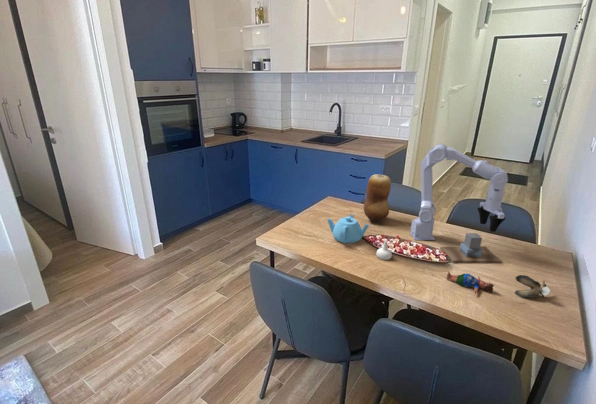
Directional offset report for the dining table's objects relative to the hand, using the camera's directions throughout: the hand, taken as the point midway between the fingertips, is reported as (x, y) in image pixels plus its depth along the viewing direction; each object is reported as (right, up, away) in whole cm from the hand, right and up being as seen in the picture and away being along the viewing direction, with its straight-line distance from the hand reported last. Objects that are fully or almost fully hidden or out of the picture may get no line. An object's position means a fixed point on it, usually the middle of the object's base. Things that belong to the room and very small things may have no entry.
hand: (487, 227), depth 138 cm
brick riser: (-9, -12, -2) cm, 15 cm away
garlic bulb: (-46, -13, -3) cm, 48 cm away
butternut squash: (-41, +1, +34) cm, 53 cm away
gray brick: (-9, -8, -4) cm, 12 cm away
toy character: (-20, -20, -22) cm, 36 cm away
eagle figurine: (-2, -21, -27) cm, 35 cm away
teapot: (-59, -6, +14) cm, 61 cm away
